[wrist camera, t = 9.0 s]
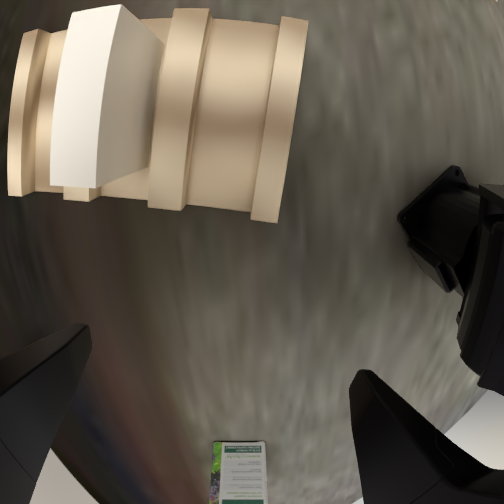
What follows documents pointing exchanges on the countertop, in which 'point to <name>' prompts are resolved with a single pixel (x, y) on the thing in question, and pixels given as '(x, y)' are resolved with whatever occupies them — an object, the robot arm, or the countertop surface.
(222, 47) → the slotted rack
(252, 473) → the syrup box
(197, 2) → the countertop surface
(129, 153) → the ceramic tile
